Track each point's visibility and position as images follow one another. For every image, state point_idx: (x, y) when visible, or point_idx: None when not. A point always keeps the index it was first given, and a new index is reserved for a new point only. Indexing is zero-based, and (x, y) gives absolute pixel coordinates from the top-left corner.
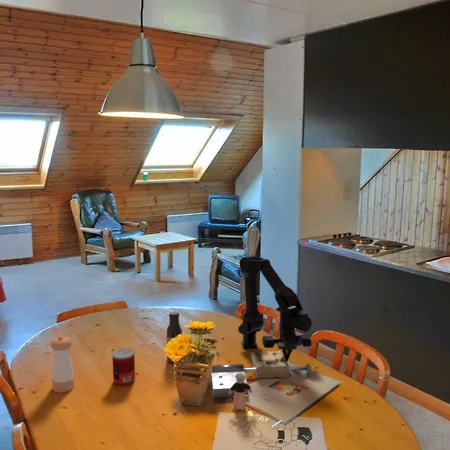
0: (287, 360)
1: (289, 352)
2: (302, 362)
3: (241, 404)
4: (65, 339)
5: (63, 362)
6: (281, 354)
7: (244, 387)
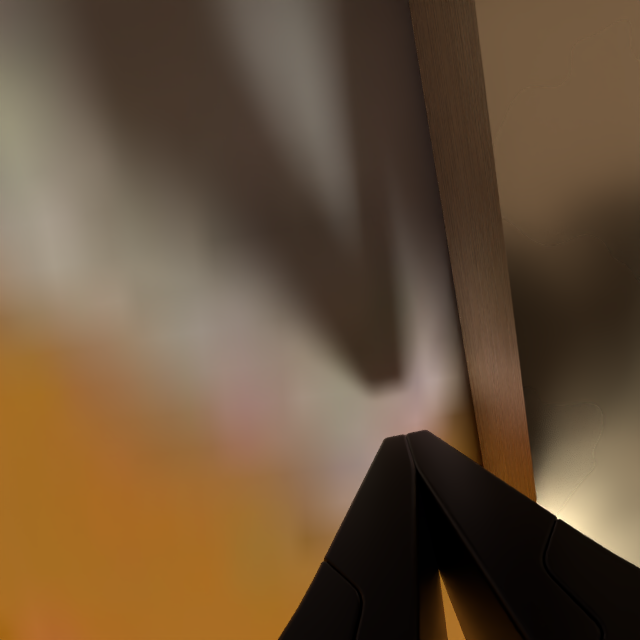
0: (388, 450)
1: (357, 629)
2: (111, 519)
3: None
4: None
5: None
6: None
7: None
